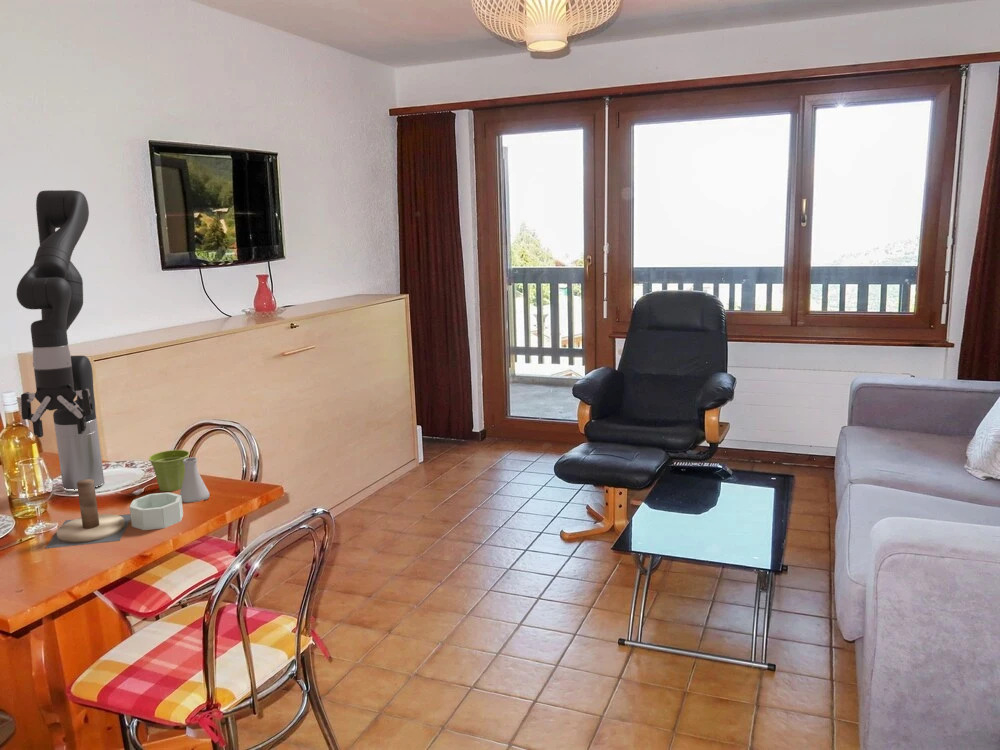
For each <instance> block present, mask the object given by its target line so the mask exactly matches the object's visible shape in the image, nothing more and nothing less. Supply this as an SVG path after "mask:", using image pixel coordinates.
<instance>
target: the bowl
mask: <svg viewBox="0 0 1000 750" xmlns="http://www.w3.org/2000/svg"><path fill="white" fill-rule="evenodd" d="M183 509H184V508H183V502H182V498H181V495H180V494H179V493H178V494H177V493H174V492H171V491H165V492H159V493H158V492H156V493H149V494H146V495H143V496H140V497H137V498H135V499H133V500H132V501H131V503H130V506H129V512H130V513H129V514H130V515H131V520H130V523H131V527H132V528H135V529H139V530H142V531H148V530H149V531H150V530H158V529H165V528H168V527H171V526H173V525H175V524H179V523H181V521H182V519H183V517H184V511H183Z"/></svg>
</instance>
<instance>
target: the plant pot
mask: <svg viewBox="0 0 1000 750" xmlns="http://www.w3.org/2000/svg"><path fill="white" fill-rule="evenodd" d="M190 453H191V452H189V451H188V450H187V449H186V450H184V449H171V450H170V449H169V450H164V451H160V452H155V453H153V454H151V455H150V456H148V461H149V462H150V463H151V465H152V467H153V471H154V473H155V474H154V475H155V478H156V481H157V485H158V488H159V491H160V492H173V491H178V490H181V488H182V483H183V479H184V474H185V464H184V463H183V460H184V459H186V458H189V456H190V455H191V454H190Z"/></svg>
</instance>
